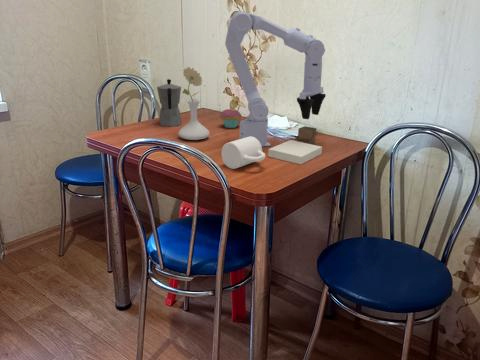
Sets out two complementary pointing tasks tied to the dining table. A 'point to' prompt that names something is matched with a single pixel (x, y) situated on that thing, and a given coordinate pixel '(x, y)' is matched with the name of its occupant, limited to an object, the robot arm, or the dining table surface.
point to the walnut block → (307, 135)
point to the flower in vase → (193, 110)
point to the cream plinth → (295, 152)
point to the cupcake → (230, 117)
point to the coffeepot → (169, 104)
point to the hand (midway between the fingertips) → (310, 116)
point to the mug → (242, 152)
